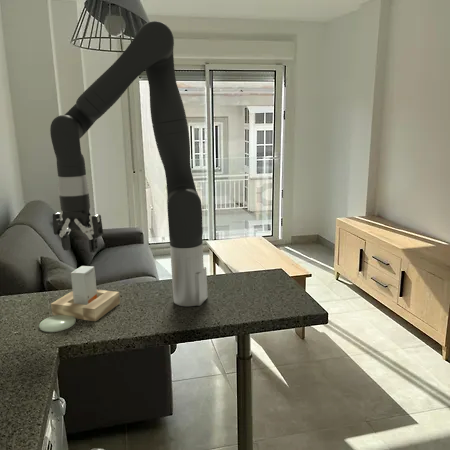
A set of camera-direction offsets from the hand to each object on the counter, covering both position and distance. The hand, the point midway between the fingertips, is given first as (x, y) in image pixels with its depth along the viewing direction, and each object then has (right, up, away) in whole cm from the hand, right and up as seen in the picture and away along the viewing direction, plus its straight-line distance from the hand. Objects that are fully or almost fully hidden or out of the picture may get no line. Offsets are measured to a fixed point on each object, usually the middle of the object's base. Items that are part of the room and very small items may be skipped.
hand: (80, 250), depth 120 cm
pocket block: (+1, -17, +4) cm, 17 cm away
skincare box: (+1, -17, +4) cm, 18 cm away
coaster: (-4, -19, -4) cm, 20 cm away
